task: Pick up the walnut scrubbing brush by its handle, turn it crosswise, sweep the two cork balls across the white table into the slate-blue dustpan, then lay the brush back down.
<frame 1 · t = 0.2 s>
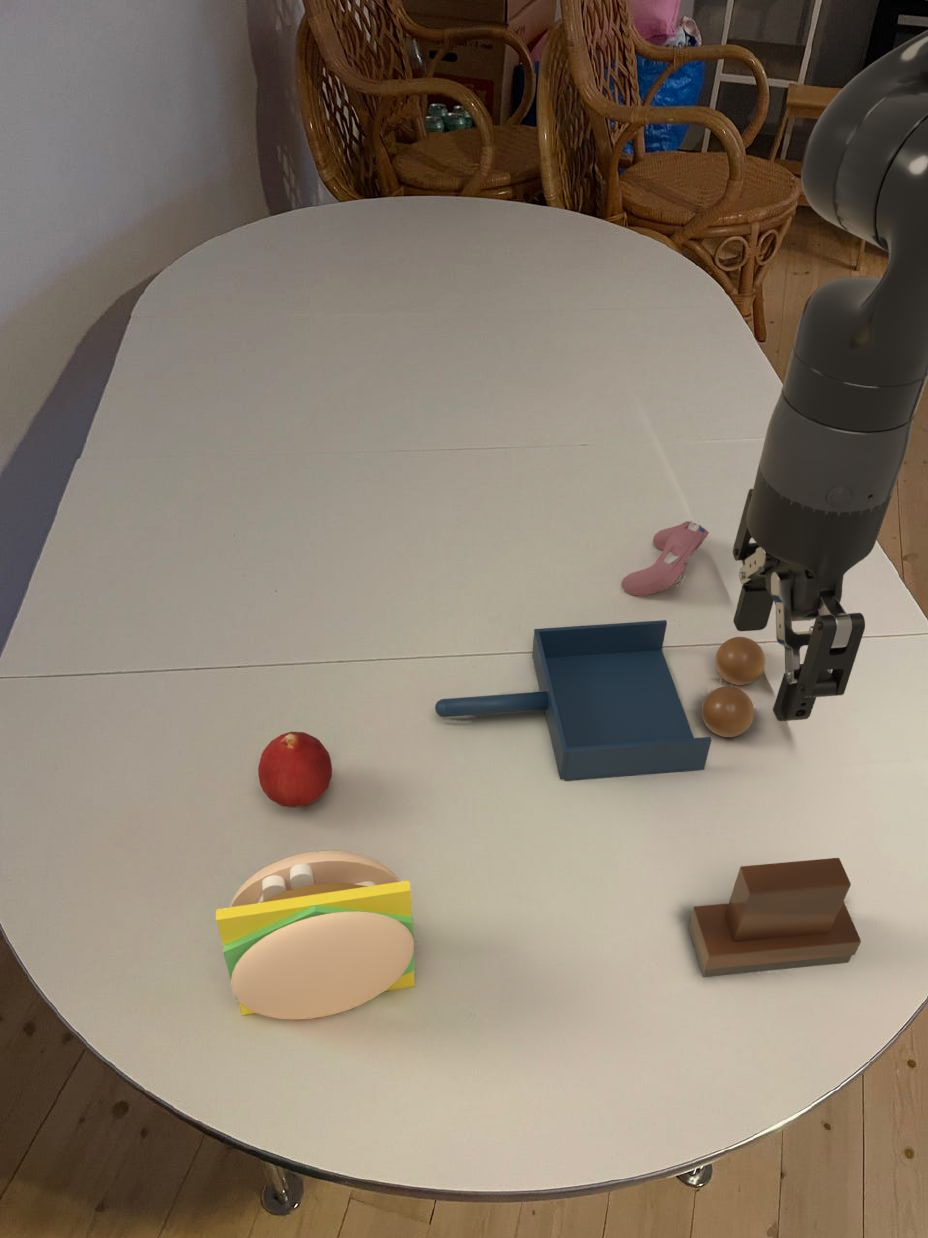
hand: (768, 669, 70), 19 cm above the table, tool pointing down, fingers open, 8 cm apart
cork ball a: (740, 660, 95), point 2 cm above the table
brush: (767, 946, 76), on the table
dustpan: (615, 711, 93), on the table
hamburger: (327, 977, 74), on the table
cork ball b: (727, 711, 90), point 2 cm above the table
pink socks: (663, 577, 107), on the table
onion: (299, 800, 86), on the table
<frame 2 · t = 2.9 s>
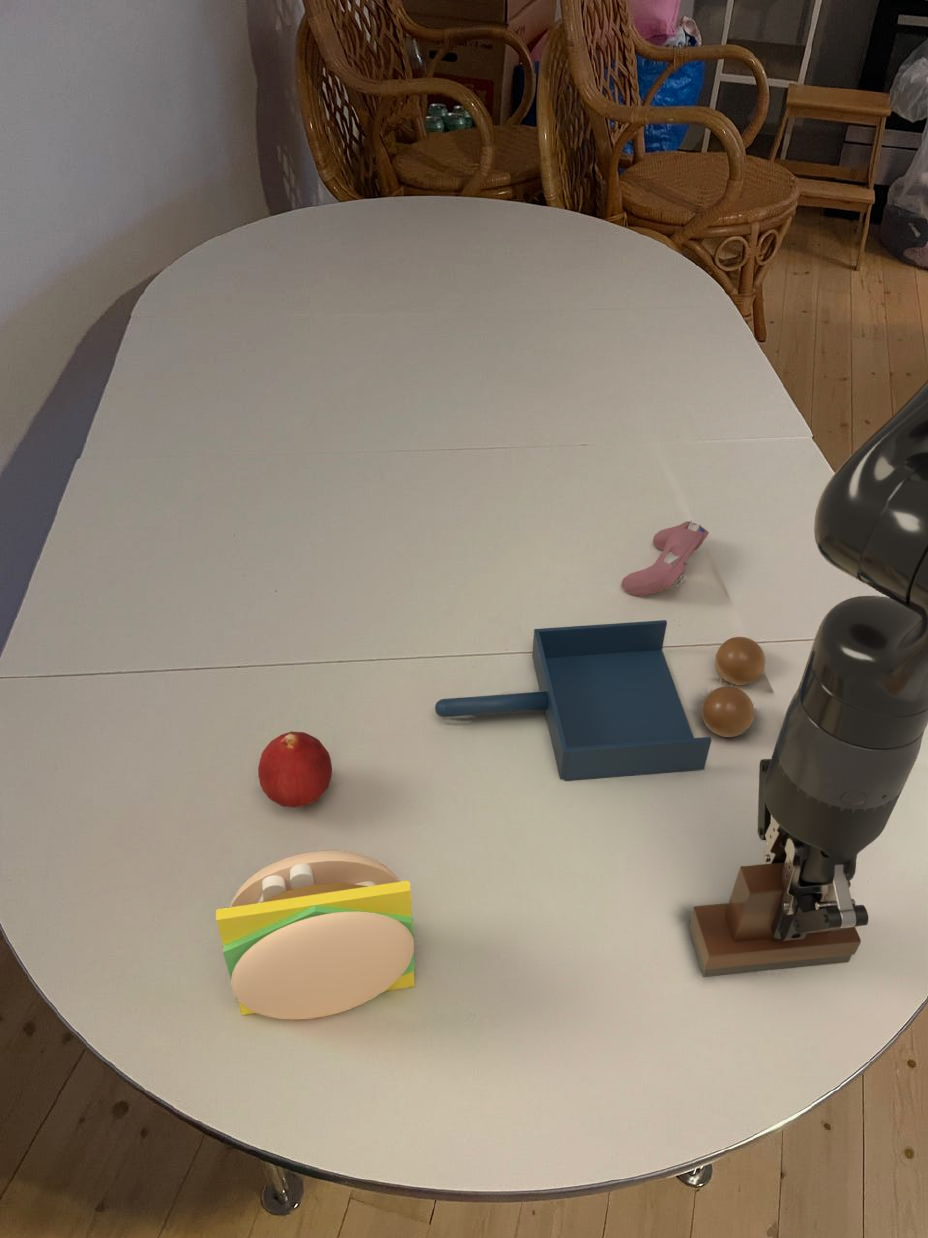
hand: (779, 915, 73), 4 cm above the table, tool pointing down, fingers closed on brush, 2 cm apart
brush: (767, 946, 76), on the table, touching gripper
everything else where it was.
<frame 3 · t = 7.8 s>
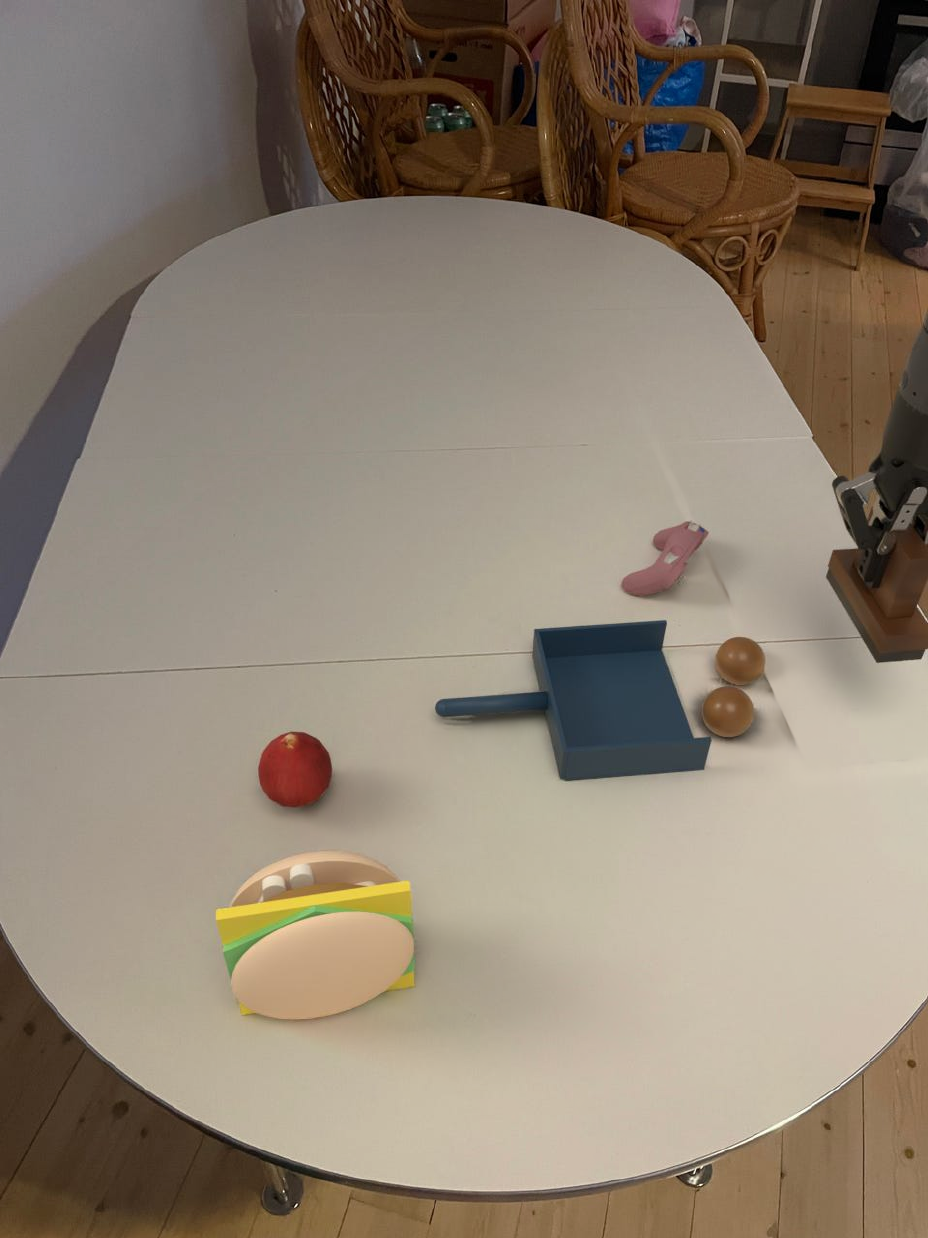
hand: (885, 580, 85), 14 cm above the table, tool pointing down, fingers closed on brush
brush: (871, 616, 88), point 10 cm above the table, touching gripper
everything else where it was.
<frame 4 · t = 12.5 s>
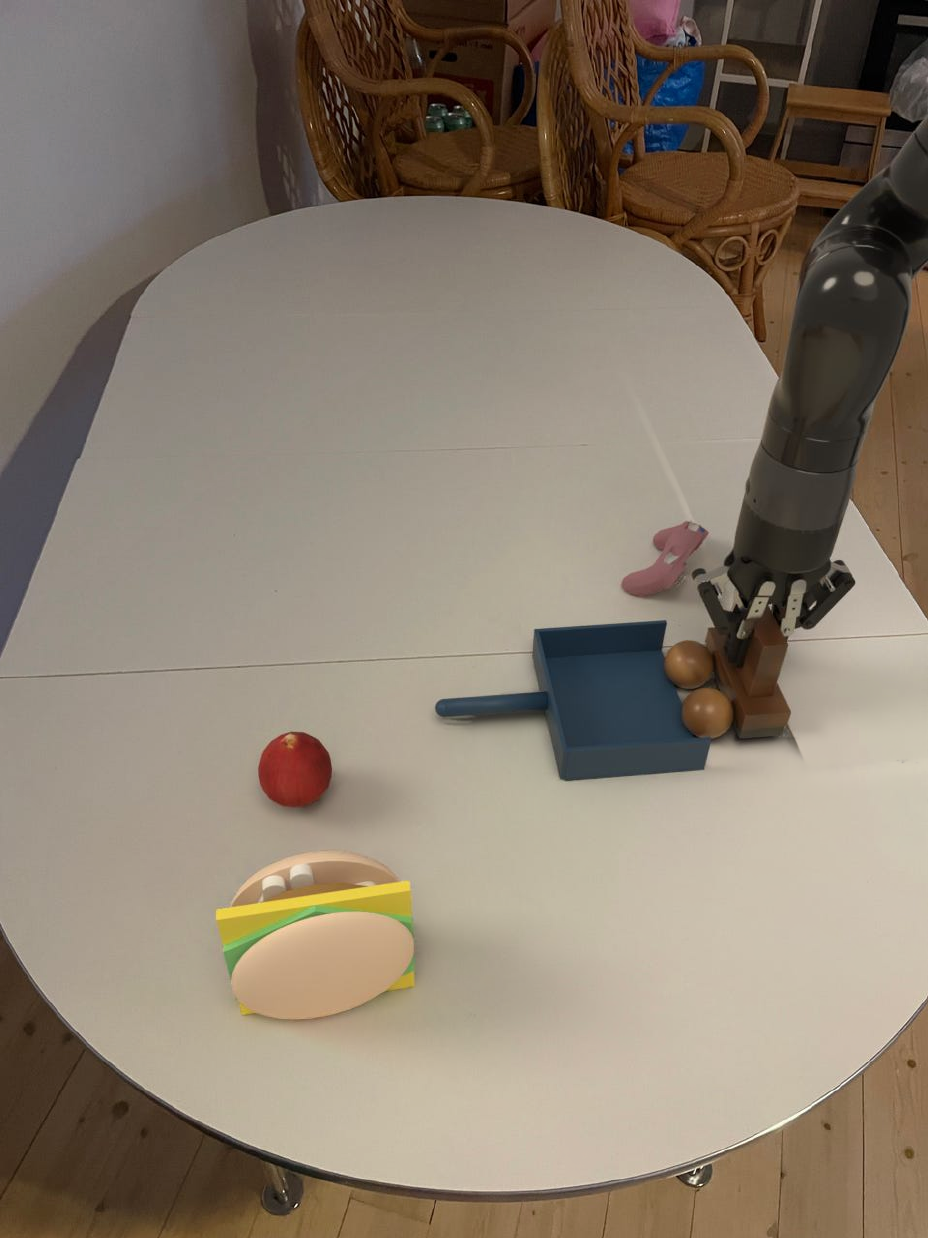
hand: (750, 659, 91), 5 cm above the table, tool pointing down, fingers closed on brush, 2 cm apart
cork ball a: (688, 664, 95), point 2 cm above the table, tilted 126°, touching brush
brush: (741, 691, 93), point 1 cm above the table, touching cork ball a, gripper
cork ball b: (707, 713, 90), point 2 cm above the table, tilted 47°
everything else where it was.
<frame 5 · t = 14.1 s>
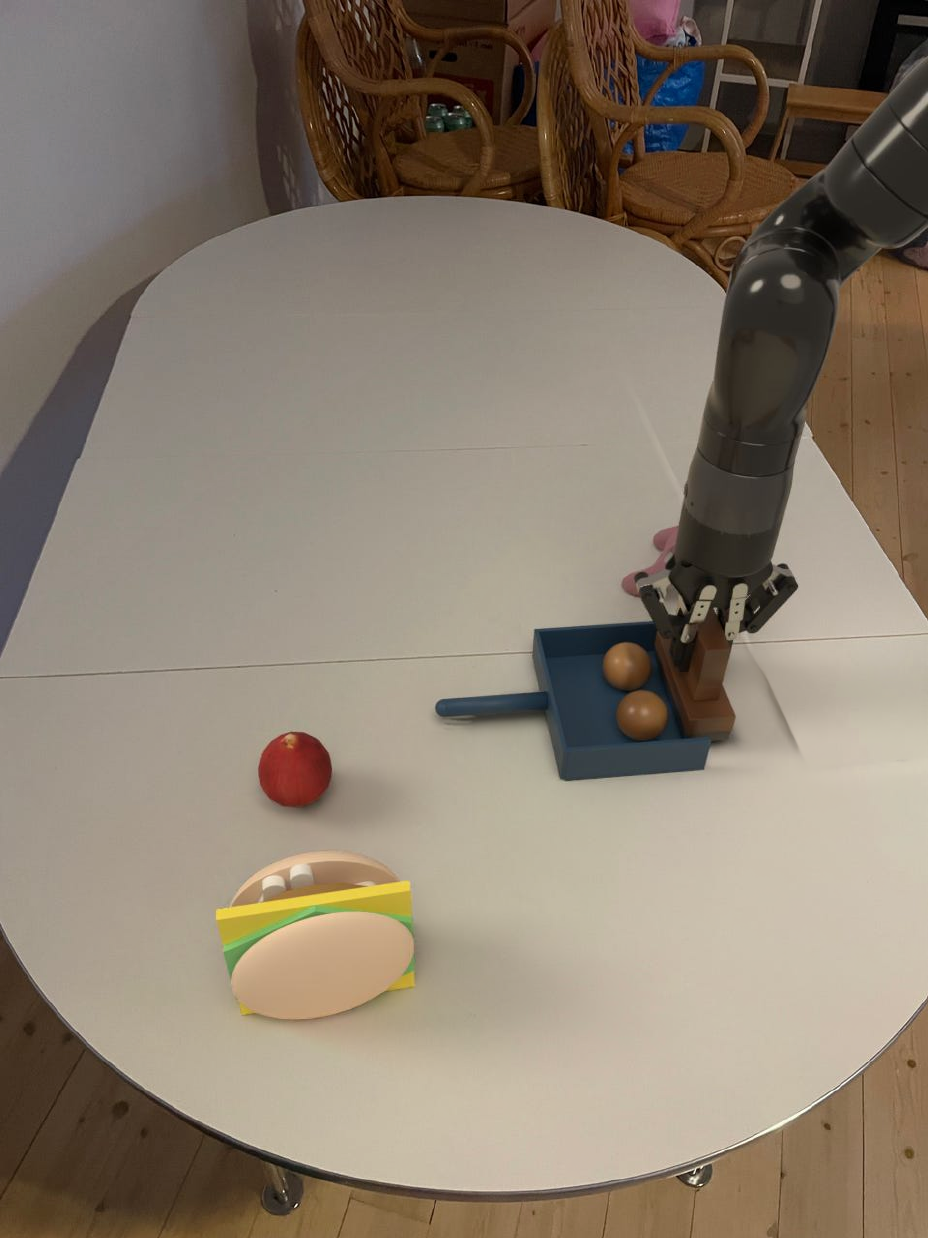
hand: (697, 663, 90), 5 cm above the table, tool pointing down, fingers closed on brush, 2 cm apart
cork ball a: (627, 666, 94), point 2 cm above the table, tilted 83°, touching dustpan
brush: (689, 695, 93), point 1 cm above the table, touching gripper
cork ball b: (642, 715, 89), point 2 cm above the table, tilted 160°, touching dustpan
everything else where it was.
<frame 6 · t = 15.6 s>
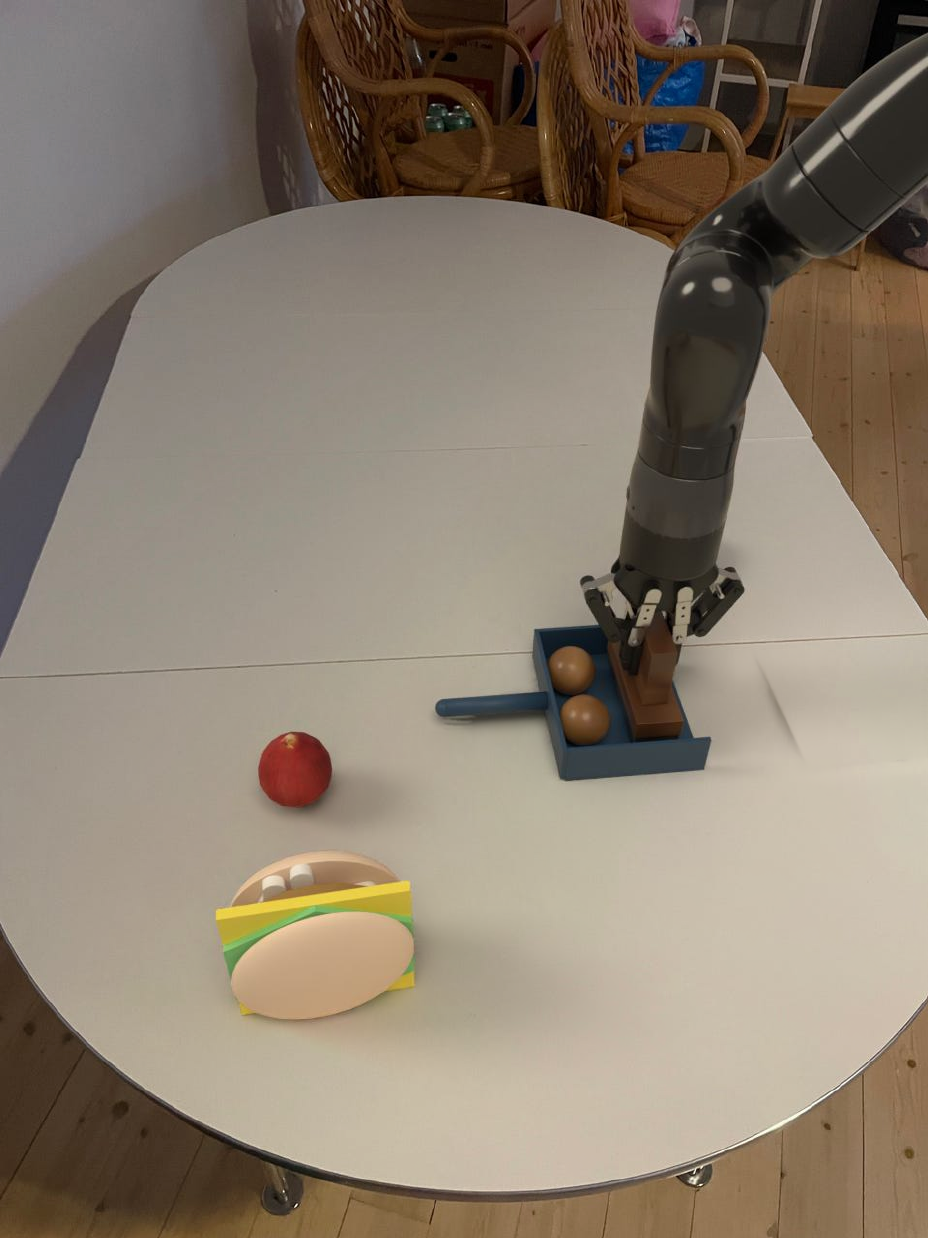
hand: (647, 667, 90), 5 cm above the table, tool pointing down, fingers closed on brush, 2 cm apart
cork ball a: (570, 670, 93), point 2 cm above the table, tilted 51°, touching dustpan
brush: (640, 699, 93), point 1 cm above the table, touching gripper
cork ball b: (584, 720, 89), point 2 cm above the table, tilted 28°, touching dustpan
everything else where it was.
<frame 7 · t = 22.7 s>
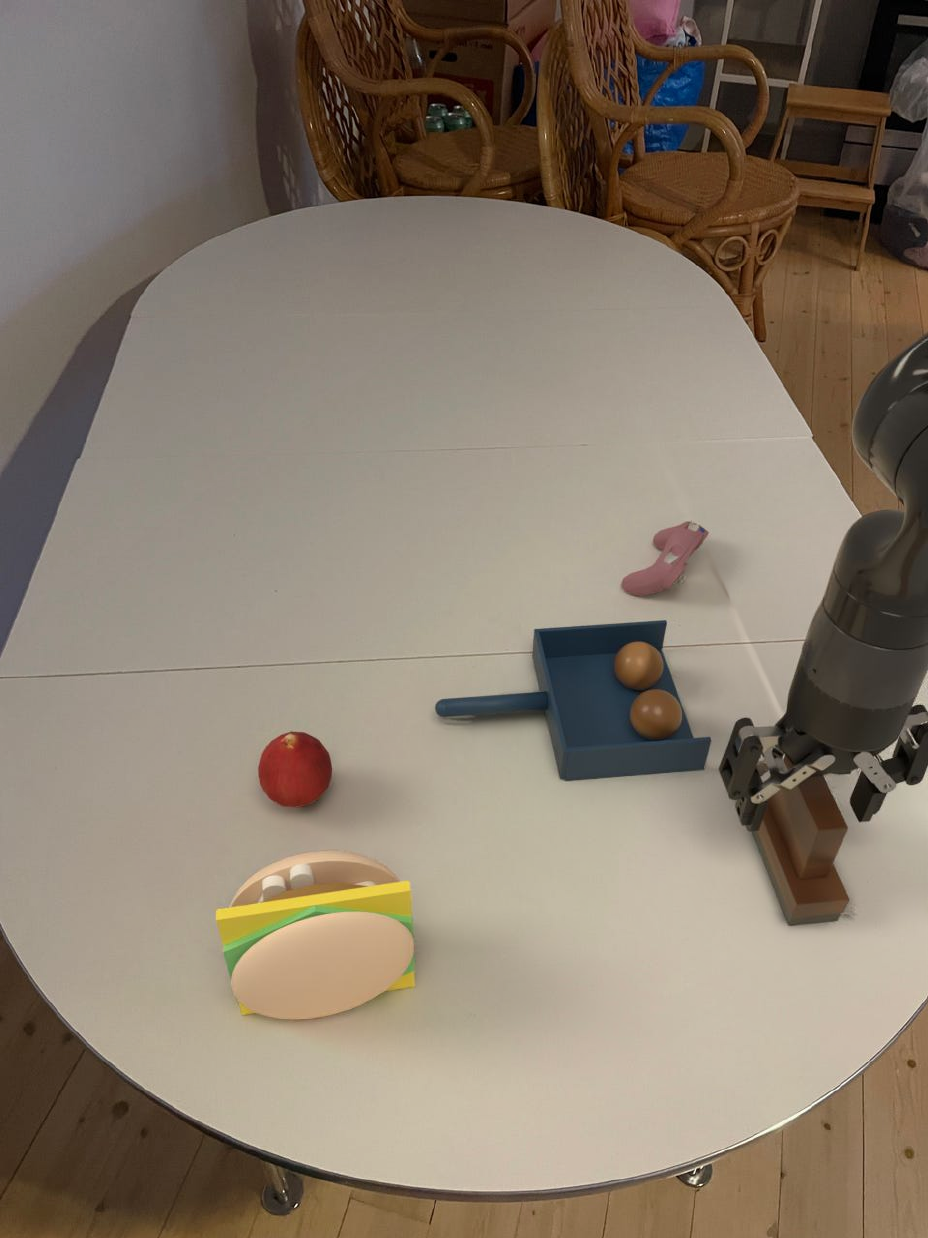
hand: (804, 817, 78), 5 cm above the table, tool pointing down, fingers open, 8 cm apart
cork ball a: (638, 665, 94), point 2 cm above the table, tilted 110°, touching dustpan
brush: (788, 862, 81), on the table
cork ball b: (655, 714, 90), point 2 cm above the table, tilted 169°, touching dustpan
everything else where it was.
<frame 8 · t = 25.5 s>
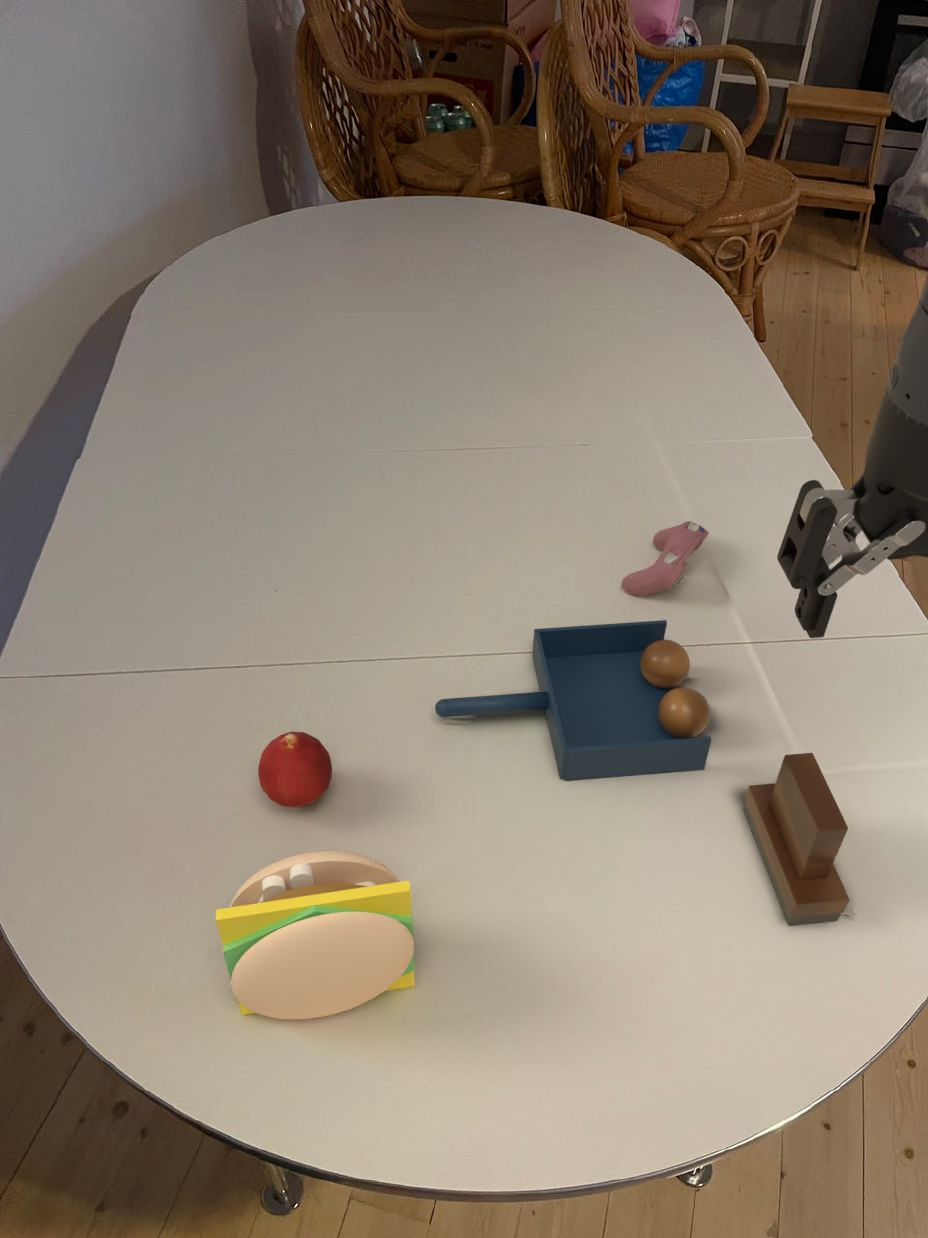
hand: (877, 624, 65), 25 cm above the table, tool pointing down, fingers open, 8 cm apart
cork ball a: (664, 664, 94), point 2 cm above the table, tilted 174°, touching dustpan
cork ball b: (683, 712, 90), point 2 cm above the table, tilted 105°, touching dustpan
everything else where it was.
at the end: cork ball a inside the target area in the dustpan (5.8 cm from its centre), point 2.5 cm above the dustpan's base; cork ball b inside the target area in the dustpan (5.9 cm from its centre), point 2.5 cm above the dustpan's base; the gripper is holding nothing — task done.
